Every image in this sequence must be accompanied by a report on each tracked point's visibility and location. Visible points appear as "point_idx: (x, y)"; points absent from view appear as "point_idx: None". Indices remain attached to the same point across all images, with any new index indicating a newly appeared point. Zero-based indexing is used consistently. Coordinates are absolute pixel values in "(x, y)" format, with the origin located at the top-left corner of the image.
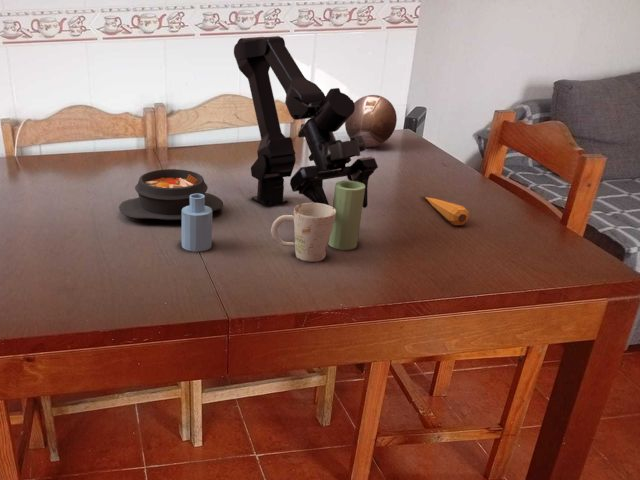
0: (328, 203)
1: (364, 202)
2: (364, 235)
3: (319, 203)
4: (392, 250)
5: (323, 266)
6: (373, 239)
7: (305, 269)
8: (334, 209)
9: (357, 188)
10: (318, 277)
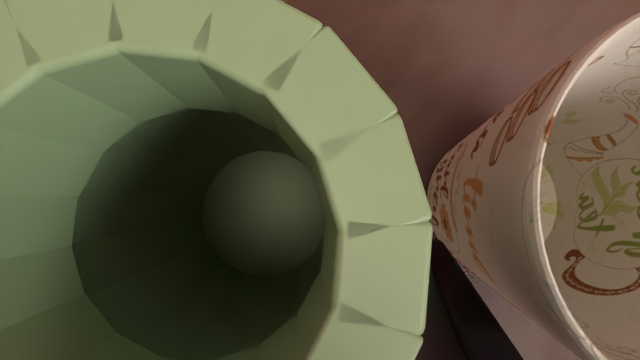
0: (447, 298)
1: None
2: None
3: (577, 324)
4: None
5: (518, 88)
6: None
7: None
8: (561, 100)
9: (178, 23)
10: (610, 24)
